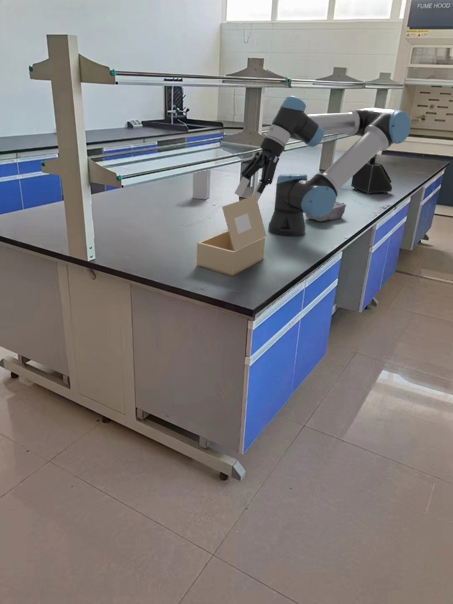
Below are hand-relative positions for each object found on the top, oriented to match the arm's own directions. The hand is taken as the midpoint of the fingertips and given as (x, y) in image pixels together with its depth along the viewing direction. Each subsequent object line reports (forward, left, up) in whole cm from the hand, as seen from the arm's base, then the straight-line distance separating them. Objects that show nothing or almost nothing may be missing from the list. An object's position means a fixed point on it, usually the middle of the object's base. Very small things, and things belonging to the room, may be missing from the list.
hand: (245, 198), depth 169 cm
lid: (+9, +14, -4) cm, 17 cm away
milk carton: (-25, -75, -19) cm, 81 cm away
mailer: (+11, +10, -19) cm, 24 cm away
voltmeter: (-125, -54, -19) cm, 138 cm away
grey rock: (-59, -21, -19) cm, 65 cm away
